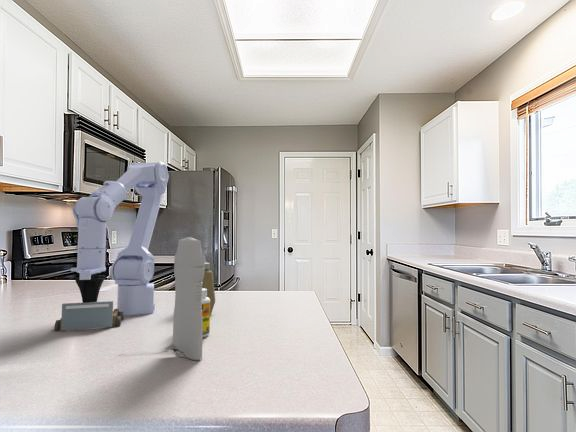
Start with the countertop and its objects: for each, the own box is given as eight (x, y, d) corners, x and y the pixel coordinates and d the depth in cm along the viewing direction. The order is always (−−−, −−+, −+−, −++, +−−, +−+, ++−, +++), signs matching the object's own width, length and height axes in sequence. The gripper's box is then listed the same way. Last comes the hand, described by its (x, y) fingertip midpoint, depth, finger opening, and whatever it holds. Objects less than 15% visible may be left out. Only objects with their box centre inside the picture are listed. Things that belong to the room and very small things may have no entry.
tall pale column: (211, 358, 66) (213, 237, 67) (190, 364, 63) (193, 237, 64) (183, 345, 73) (185, 236, 75) (164, 349, 71) (166, 236, 72)
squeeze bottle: (183, 313, 103) (184, 249, 104) (211, 310, 107) (212, 249, 108) (188, 319, 96) (189, 251, 97) (218, 316, 99) (219, 250, 100)
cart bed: (123, 323, 91) (123, 308, 91) (119, 331, 83) (120, 315, 83) (63, 327, 87) (64, 311, 87) (54, 336, 79) (54, 319, 79)
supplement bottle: (188, 340, 77) (189, 292, 77) (180, 334, 81) (181, 288, 82) (213, 336, 80) (214, 290, 80) (204, 331, 84) (205, 286, 85)
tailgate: (112, 325, 82) (113, 301, 83) (111, 327, 81) (112, 302, 82) (61, 329, 79) (62, 303, 79) (60, 330, 78) (61, 304, 78)
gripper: (78, 247, 89) (76, 303, 88) (64, 249, 75) (61, 315, 75) (110, 247, 91) (108, 301, 91) (101, 249, 78) (99, 313, 77)
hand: (89, 308), depth 83 cm, fingers closed
